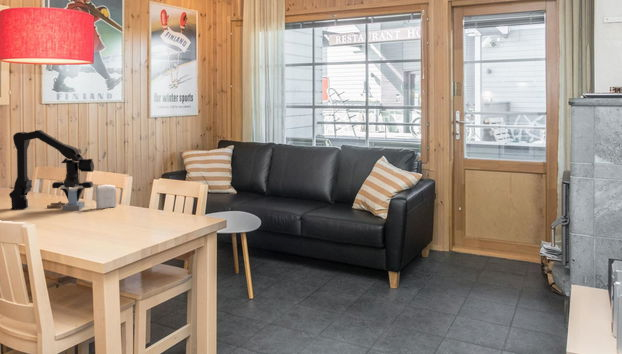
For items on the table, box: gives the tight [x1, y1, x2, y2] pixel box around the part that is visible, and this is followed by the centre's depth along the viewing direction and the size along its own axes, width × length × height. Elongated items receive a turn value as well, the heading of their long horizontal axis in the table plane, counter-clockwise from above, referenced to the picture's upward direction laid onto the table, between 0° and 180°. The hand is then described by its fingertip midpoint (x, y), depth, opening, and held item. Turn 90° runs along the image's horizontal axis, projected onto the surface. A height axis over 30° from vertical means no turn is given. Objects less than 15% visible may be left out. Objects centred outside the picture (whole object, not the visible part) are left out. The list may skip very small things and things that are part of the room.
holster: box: [46, 200, 66, 209], centre depth 276 cm, size 9×15×2 cm, turn 11°
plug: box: [67, 187, 80, 205], centre depth 268 cm, size 4×4×9 cm
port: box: [62, 201, 85, 212], centre depth 269 cm, size 8×12×3 cm, turn 11°
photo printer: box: [95, 184, 117, 210], centre depth 272 cm, size 10×4×12 cm, turn 134°
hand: (73, 201), depth 268 cm, fingers closed on plug, 4 cm apart
